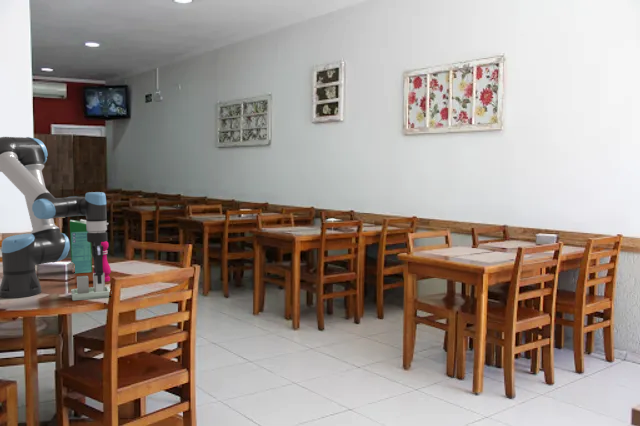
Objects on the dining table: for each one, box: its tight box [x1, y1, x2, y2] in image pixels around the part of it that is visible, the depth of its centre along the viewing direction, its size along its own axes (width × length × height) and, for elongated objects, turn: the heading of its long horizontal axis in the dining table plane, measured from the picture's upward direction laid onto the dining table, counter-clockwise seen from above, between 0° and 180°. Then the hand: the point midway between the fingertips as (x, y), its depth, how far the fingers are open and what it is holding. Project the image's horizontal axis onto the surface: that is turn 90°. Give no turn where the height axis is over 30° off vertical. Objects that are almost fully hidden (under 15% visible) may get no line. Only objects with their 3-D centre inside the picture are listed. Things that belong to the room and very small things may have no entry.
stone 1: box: [76, 275, 90, 294], centre depth 232 cm, size 4×4×7 cm
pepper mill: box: [93, 240, 112, 283], centre depth 262 cm, size 7×7×20 cm
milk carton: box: [69, 219, 93, 274], centre depth 285 cm, size 9×9×25 cm
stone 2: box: [92, 272, 106, 292], centre depth 235 cm, size 4×4×7 cm
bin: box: [70, 285, 111, 301], centre depth 234 cm, size 14×11×2 cm
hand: (99, 290), depth 235 cm, fingers closed on stone 2, 4 cm apart
